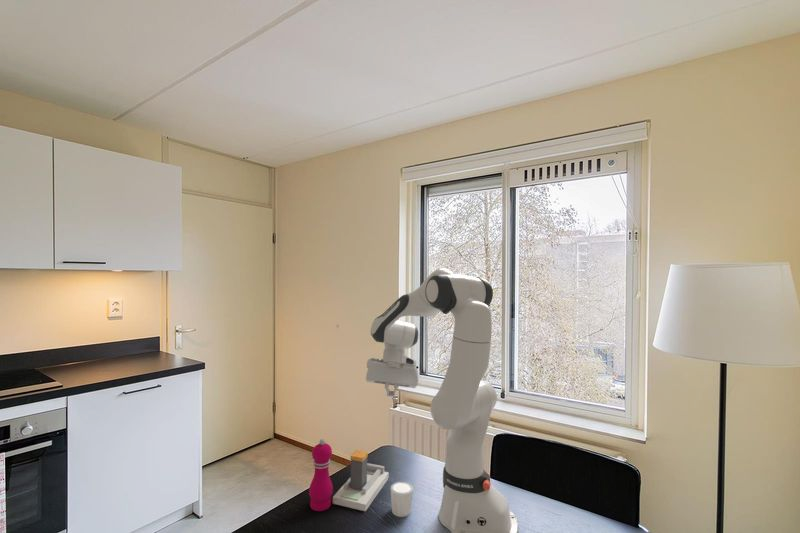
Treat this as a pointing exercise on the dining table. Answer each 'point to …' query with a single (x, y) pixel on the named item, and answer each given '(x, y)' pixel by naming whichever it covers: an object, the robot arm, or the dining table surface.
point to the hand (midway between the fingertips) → (390, 396)
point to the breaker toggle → (358, 470)
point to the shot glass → (401, 498)
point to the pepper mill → (321, 478)
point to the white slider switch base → (368, 492)
